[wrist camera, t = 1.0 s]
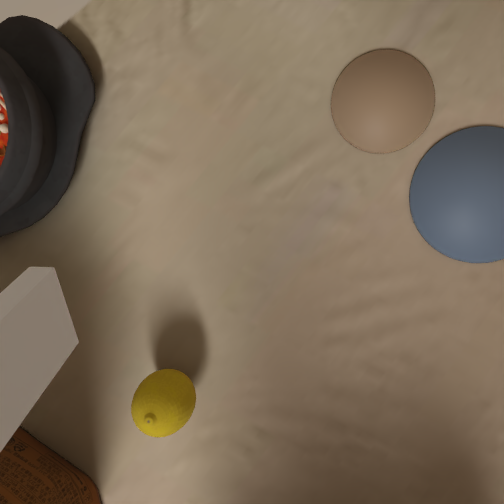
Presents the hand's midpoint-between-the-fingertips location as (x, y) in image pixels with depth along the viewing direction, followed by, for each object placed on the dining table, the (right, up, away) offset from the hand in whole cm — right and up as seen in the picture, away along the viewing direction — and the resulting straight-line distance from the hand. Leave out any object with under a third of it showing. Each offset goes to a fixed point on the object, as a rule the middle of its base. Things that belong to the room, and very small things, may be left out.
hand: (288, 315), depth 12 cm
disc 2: (+19, +7, +27) cm, 34 cm away
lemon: (-8, -12, +32) cm, 36 cm away
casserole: (-26, +13, +33) cm, 44 cm away
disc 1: (+11, +15, +27) cm, 33 cm away
